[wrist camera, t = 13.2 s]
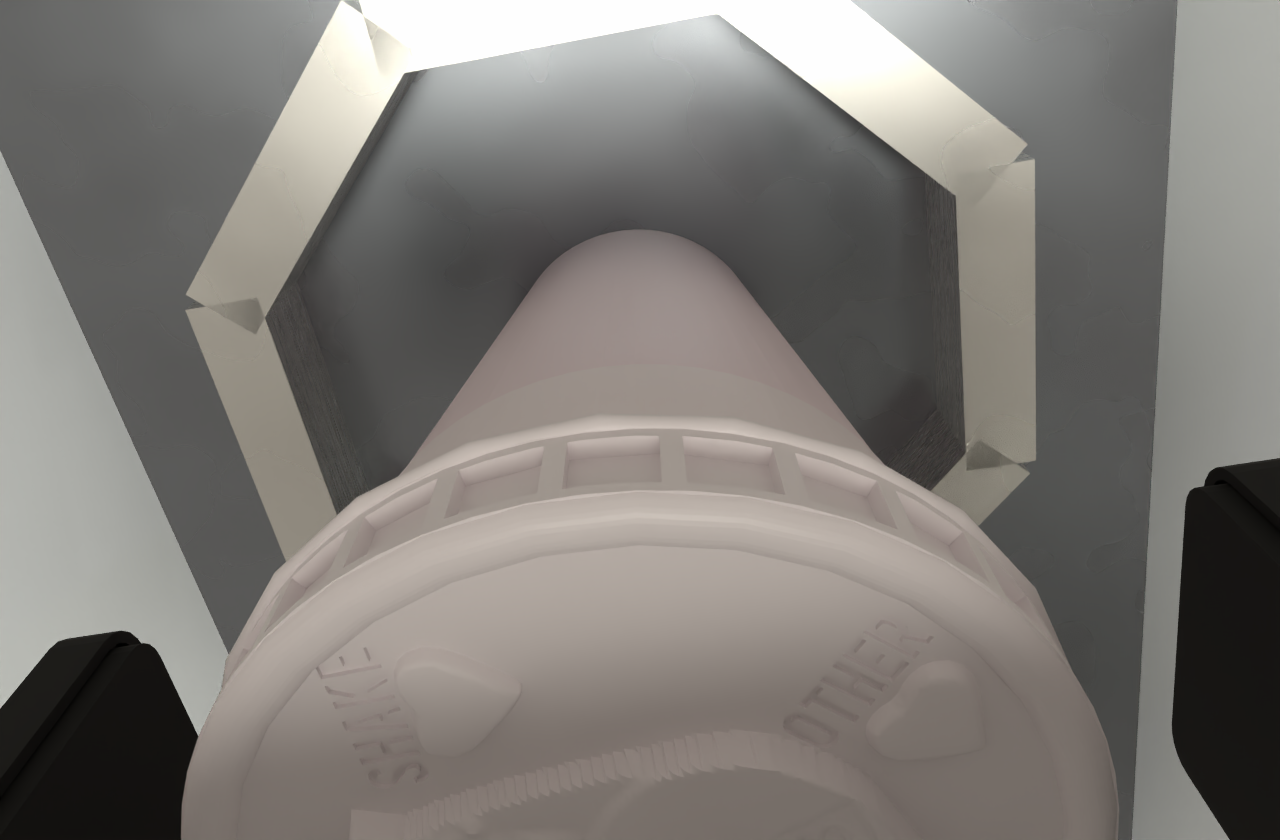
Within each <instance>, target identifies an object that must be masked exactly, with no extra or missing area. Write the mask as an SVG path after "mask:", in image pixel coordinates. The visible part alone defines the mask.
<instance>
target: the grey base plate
mask: <svg viewBox="0 0 1280 840" xmlns="http://www.w3.org/2000/svg"><path fill="white" fill-rule="evenodd" d="M1176 16H1177V0H0V150H1V153H2V155H3V157H4V159H5V162H6V164H7V166H8V168H9V170H10V173H11V175H12V177H13V179H14V181H15V184H16V186H17V188H18V190H19V192H20V195H21V197H22V199H23V201H24V203H25V206H26V208H27V210H28V212H29V214H30V217H31V219H32V221H33V223H34V225H35V228H36V230H37V232H38V234H39V237H40V239H41V241H42V243H43V245H44V248H45V250H46V252H47V254H48V256H49V259H50V261H51V263H52V265H53V267H54V270H55V272H56V274H57V276H58V278H59V281H60V283H61V285H62V287H63V289H64V292H65V294H66V296H67V298H68V300H69V303H70V305H71V307H72V309H73V312H74V314H75V316H76V318H77V320H78V323H79V325H80V327H81V329H82V331H83V334H84V336H85V338H86V340H87V342H88V345H89V347H90V349H91V351H92V353H93V356H94V358H95V360H96V362H97V364H98V367H99V369H100V371H101V373H102V375H103V378H104V380H105V382H106V384H107V387H108V389H109V391H110V393H111V395H112V398H113V400H114V402H115V404H116V406H117V409H118V411H119V413H120V415H121V417H122V420H123V422H124V424H125V426H126V428H127V431H128V433H129V435H130V437H131V439H132V442H133V444H134V446H135V448H136V450H137V453H138V455H139V457H140V459H141V462H142V464H143V466H144V468H145V470H146V473H147V475H148V477H149V479H150V481H151V484H152V486H153V488H154V490H155V492H156V495H157V497H158V499H159V501H160V503H161V506H162V508H163V510H164V512H165V514H166V517H167V519H168V521H169V523H170V525H171V528H172V530H173V532H174V534H175V537H176V539H177V541H178V543H179V545H180V548H181V550H182V552H183V554H184V556H185V559H186V561H187V563H188V565H189V567H190V570H191V572H192V574H193V576H194V578H195V581H196V583H197V585H198V587H199V589H200V592H201V594H202V596H203V598H204V600H205V603H206V605H207V607H208V609H209V612H210V614H211V616H212V618H213V620H214V623H215V625H216V627H217V629H218V631H219V634H220V636H221V638H222V640H223V642H224V645H225V647H226V649H227V651H228V653H230V652H231V650H232V648H233V646H234V644H235V643H236V641H237V639H238V637H239V635H240V634H241V632H242V630H243V628H244V626H245V625H246V623H247V621H248V619H249V617H250V616H251V614H252V612H253V610H254V608H255V607H256V605H257V603H258V601H259V599H260V598H261V596H262V594H263V592H264V591H265V589H266V587H267V585H268V583H269V582H270V580H271V578H272V576H273V574H274V573H275V572H276V571H277V570H278V569H279V568H280V567H281V566H282V565H283V564H284V563H285V562H287V561H288V560H289V559H290V558H291V557H292V556H293V555H294V554H295V553H296V552H297V551H299V550H300V549H301V548H302V547H303V546H304V545H305V544H306V543H307V542H308V541H309V540H311V539H312V538H313V537H314V536H315V535H316V534H317V533H318V532H319V531H320V530H321V529H323V528H324V527H325V526H326V525H327V524H328V523H329V522H330V521H331V520H332V519H333V518H335V517H336V516H337V515H338V514H339V513H340V512H341V511H342V510H343V509H344V508H345V507H346V506H348V505H349V504H350V503H351V502H352V501H353V500H354V499H355V498H356V497H358V496H360V495H362V494H364V493H366V492H368V491H370V490H372V489H374V488H376V487H378V486H380V485H382V484H384V483H386V482H388V481H390V480H392V479H394V478H396V477H398V476H399V475H400V474H401V472H402V471H403V470H404V469H405V468H406V467H407V465H408V464H409V463H410V461H411V460H412V458H413V457H414V456H415V454H416V453H417V451H418V450H419V448H420V447H421V446H422V444H423V443H424V441H425V440H426V438H427V437H428V435H429V434H430V433H431V431H432V430H433V428H434V427H435V425H436V424H437V423H438V421H439V420H440V418H441V417H442V415H443V414H444V413H445V411H446V410H447V408H448V407H449V405H450V404H451V403H452V401H453V400H454V398H455V397H456V395H457V394H458V392H459V391H460V390H461V388H462V387H463V385H464V384H465V382H466V381H467V380H468V378H469V377H470V375H471V374H472V372H473V371H474V370H475V368H476V367H477V365H478V364H479V362H480V361H481V360H482V358H483V357H484V355H485V354H486V352H487V351H488V349H489V348H490V347H491V345H492V344H493V342H494V341H495V339H496V338H497V337H498V335H499V334H500V332H501V331H502V329H503V328H504V327H505V325H506V324H507V322H508V321H509V319H510V318H511V317H512V315H513V314H514V312H515V311H516V309H517V308H518V306H519V305H520V304H521V302H522V301H523V299H524V298H525V296H526V295H527V294H528V292H529V291H530V289H531V288H532V286H533V285H534V284H535V282H536V281H537V279H538V278H539V277H540V275H541V274H542V273H543V272H544V271H545V269H546V268H547V267H548V266H549V265H550V264H551V263H552V262H553V261H555V260H556V259H557V258H558V257H559V256H561V255H562V254H563V253H565V252H566V251H568V250H569V249H571V248H572V247H574V246H576V245H578V244H580V243H582V242H584V241H586V240H588V239H591V238H593V237H596V236H599V235H603V234H606V233H610V232H615V231H621V230H632V229H643V230H655V231H662V232H666V233H671V234H674V235H678V236H681V237H684V238H686V239H688V240H691V241H693V242H695V243H697V244H699V245H701V246H703V247H704V248H706V249H707V250H709V251H710V252H712V253H713V254H715V255H716V256H717V257H718V258H720V259H721V260H722V261H723V262H724V263H725V264H726V265H727V266H728V267H729V268H730V269H731V270H732V271H733V272H734V274H735V275H736V276H737V277H738V279H739V280H740V281H741V283H742V284H743V285H744V286H745V288H746V289H747V290H748V292H749V293H750V294H751V295H752V297H753V298H754V299H755V301H756V302H757V303H758V304H759V306H760V307H761V308H762V310H763V311H764V312H765V314H766V315H767V316H768V317H769V319H770V320H771V321H772V323H773V324H774V325H775V326H776V328H777V329H778V330H779V332H780V333H781V334H782V335H783V337H784V338H785V339H786V341H787V342H788V343H789V345H790V346H791V347H792V348H793V350H794V351H795V352H796V354H797V355H798V356H799V357H800V359H801V360H802V361H803V363H804V364H805V365H806V366H807V368H808V369H809V370H810V372H811V373H812V374H813V375H814V377H815V378H816V379H817V381H818V382H819V383H820V385H821V386H822V387H823V388H824V390H825V391H826V392H827V394H828V395H829V396H830V397H831V399H832V400H833V401H834V403H835V404H836V405H837V406H838V408H839V409H840V410H841V412H842V413H843V414H844V416H845V417H846V418H847V419H848V421H849V422H850V423H851V425H852V426H853V427H854V428H855V430H856V431H857V432H858V434H859V435H860V436H861V437H862V439H863V440H864V441H865V443H866V444H867V445H868V446H869V448H870V449H871V450H872V452H873V453H874V454H875V455H876V456H877V457H878V458H879V459H880V460H881V461H882V462H883V464H884V465H886V466H887V467H889V468H891V469H893V470H894V471H896V472H898V473H900V474H901V475H903V476H905V477H906V478H908V479H910V480H912V481H913V482H915V483H917V484H919V485H920V486H922V487H924V488H925V489H927V490H929V491H931V492H932V493H934V494H936V495H938V496H939V497H941V498H943V499H945V500H946V501H948V502H950V503H951V504H953V505H955V506H957V507H958V508H960V509H962V510H963V511H964V512H965V513H966V514H967V515H968V516H969V517H970V518H971V519H972V520H973V521H974V522H975V524H976V525H977V526H978V527H979V528H980V529H981V530H982V531H983V532H984V533H985V534H986V535H987V536H988V538H989V539H990V540H991V541H992V542H993V543H994V544H995V545H996V546H997V547H998V548H999V549H1000V550H1001V551H1002V553H1003V554H1004V555H1005V556H1006V557H1007V558H1008V559H1009V560H1010V561H1011V562H1012V563H1013V564H1014V565H1015V566H1016V568H1017V569H1018V570H1019V571H1020V572H1021V573H1022V574H1023V575H1024V576H1025V577H1026V578H1027V579H1028V580H1029V581H1030V583H1031V584H1032V585H1033V586H1034V587H1035V588H1036V590H1037V592H1038V594H1039V596H1040V599H1041V601H1042V603H1043V606H1044V608H1045V610H1046V612H1047V615H1048V617H1049V619H1050V621H1051V624H1052V626H1053V628H1054V631H1055V633H1056V635H1057V637H1058V640H1059V642H1060V644H1061V646H1062V649H1063V651H1064V653H1065V656H1066V658H1067V660H1068V662H1069V665H1070V667H1071V669H1072V671H1073V673H1074V674H1075V676H1076V678H1077V680H1078V681H1079V683H1080V685H1081V686H1082V688H1083V690H1084V692H1085V693H1086V695H1087V697H1088V698H1089V700H1090V702H1091V704H1092V705H1093V707H1094V709H1095V712H1096V714H1097V717H1098V719H1099V722H1100V724H1101V727H1102V729H1103V732H1104V734H1105V736H1106V739H1107V742H1108V746H1109V750H1110V754H1111V758H1112V762H1113V766H1114V770H1115V774H1116V783H1117V792H1118V802H1119V821H1118V840H1131V839H1132V820H1133V802H1134V784H1135V766H1136V747H1137V729H1138V711H1139V692H1140V674H1141V656H1142V638H1143V619H1144V601H1145V583H1146V564H1147V546H1148V528H1149V510H1150V491H1151V473H1152V455H1153V436H1154V418H1155V400H1156V382H1157V363H1158V345H1159V327H1160V308H1161V290H1162V272H1163V254H1164V235H1165V217H1166V199H1167V180H1168V162H1169V144H1170V126H1171V107H1172V89H1173V71H1174V53H1175V34H1176Z"/></svg>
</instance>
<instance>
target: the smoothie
mask: <svg viewBox="0 0 1280 840" xmlns="http://www.w3.org/2000/svg"><path fill="white" fill-rule="evenodd" d="M1118 821H1119V802H1118V792H1117V783H1116V774H1115V770H1114V766H1113V762H1112V758H1111V754H1110V750H1109V746H1108V742H1107V739H1106V736H1105V734H1104V732H1103V729H1102V727H1101V724H1100V722H1099V719H1098V717H1097V714H1096V712H1095V709H1094V707H1093V705H1092V704H1091V702H1090V700H1089V698H1088V697H1087V695H1086V693H1085V692H1084V690H1083V688H1082V686H1081V685H1080V683H1079V681H1078V680H1077V678H1076V676H1075V674H1074V673H1073V671H1072V669H1071V667H1070V665H1069V662H1068V660H1067V658H1066V656H1065V653H1064V651H1063V649H1062V646H1061V644H1060V642H1059V640H1058V637H1057V635H1056V633H1055V631H1054V628H1053V626H1052V624H1051V621H1050V619H1049V617H1048V615H1047V612H1046V610H1045V608H1044V606H1043V603H1042V601H1041V599H1040V596H1039V594H1038V592H1037V590H1036V588H1035V587H1034V586H1033V585H1032V584H1031V583H1030V581H1029V580H1028V579H1027V578H1026V577H1025V576H1024V575H1023V574H1022V573H1021V572H1020V571H1019V570H1018V569H1017V568H1016V566H1015V565H1014V564H1013V563H1012V562H1011V561H1010V560H1009V559H1008V558H1007V557H1006V556H1005V555H1004V554H1003V553H1002V551H1001V550H1000V549H999V548H998V547H997V546H996V545H995V544H994V543H993V542H992V541H991V540H990V539H989V538H988V536H987V535H986V534H985V533H984V532H983V531H982V530H981V529H980V528H979V527H978V526H977V525H976V524H975V522H974V521H973V520H972V519H971V518H970V517H969V516H968V515H967V514H966V513H965V512H964V511H963V510H962V509H960V508H958V507H957V506H955V505H953V504H951V503H950V502H948V501H946V500H945V499H943V498H941V497H939V496H938V495H936V494H934V493H932V492H931V491H929V490H927V489H925V488H924V487H922V486H920V485H919V484H917V483H915V482H913V481H912V480H910V479H908V478H906V477H905V476H903V475H901V474H900V473H898V472H896V471H894V470H893V469H891V468H889V467H887V466H886V465H884V464H883V462H882V461H881V460H880V459H879V458H878V457H877V456H876V455H875V454H874V453H873V452H872V450H871V449H870V448H869V446H868V445H867V444H866V443H865V441H864V440H863V439H862V437H861V436H860V435H859V434H858V432H857V431H856V430H855V428H854V427H853V426H852V425H851V423H850V422H849V421H848V419H847V418H846V417H845V416H844V414H843V413H842V412H841V410H840V409H839V408H838V406H837V405H836V404H835V403H834V401H833V400H832V399H831V397H830V396H829V395H828V394H827V392H826V391H825V390H824V388H823V387H822V386H821V385H820V383H819V382H818V381H817V379H816V378H815V377H814V375H813V374H812V373H811V372H810V370H809V369H808V368H807V366H806V365H805V364H804V363H803V361H802V360H801V359H800V357H799V356H798V355H797V354H796V352H795V351H794V350H793V348H792V347H791V346H790V345H789V343H788V342H787V341H786V339H785V338H784V337H783V335H782V334H781V333H780V332H779V330H778V329H777V328H776V326H775V325H774V324H773V323H772V321H771V320H770V319H769V317H768V316H767V315H766V314H765V312H764V311H763V310H762V308H761V307H760V306H759V304H758V303H757V302H756V301H755V299H754V298H753V297H752V295H751V294H750V293H749V292H748V290H747V289H746V288H745V286H744V285H743V284H742V283H741V281H740V280H739V279H738V277H737V276H736V275H735V274H734V272H733V271H732V270H731V269H730V268H729V267H728V266H727V265H726V264H725V263H724V262H723V261H722V260H721V259H720V258H718V257H717V256H716V255H715V254H713V253H712V252H710V251H709V250H707V249H706V248H704V247H703V246H701V245H699V244H697V243H695V242H693V241H691V240H688V239H686V238H684V237H681V236H678V235H674V234H671V233H666V232H662V231H655V230H643V229H632V230H621V231H615V232H610V233H606V234H603V235H599V236H596V237H593V238H591V239H588V240H586V241H584V242H582V243H580V244H578V245H576V246H574V247H572V248H571V249H569V250H568V251H566V252H565V253H563V254H562V255H561V256H559V257H558V258H557V259H556V260H555V261H553V262H552V263H551V264H550V265H549V266H548V267H547V268H546V269H545V271H544V272H543V273H542V274H541V275H540V277H539V278H538V279H537V281H536V282H535V284H534V285H533V286H532V288H531V289H530V291H529V292H528V294H527V295H526V296H525V298H524V299H523V301H522V302H521V304H520V305H519V306H518V308H517V309H516V311H515V312H514V314H513V315H512V317H511V318H510V319H509V321H508V322H507V324H506V325H505V327H504V328H503V329H502V331H501V332H500V334H499V335H498V337H497V338H496V339H495V341H494V342H493V344H492V345H491V347H490V348H489V349H488V351H487V352H486V354H485V355H484V357H483V358H482V360H481V361H480V362H479V364H478V365H477V367H476V368H475V370H474V371H473V372H472V374H471V375H470V377H469V378H468V380H467V381H466V382H465V384H464V385H463V387H462V388H461V390H460V391H459V392H458V394H457V395H456V397H455V398H454V400H453V401H452V403H451V404H450V405H449V407H448V408H447V410H446V411H445V413H444V414H443V415H442V417H441V418H440V420H439V421H438V423H437V424H436V425H435V427H434V428H433V430H432V431H431V433H430V434H429V435H428V437H427V438H426V440H425V441H424V443H423V444H422V446H421V447H420V448H419V450H418V451H417V453H416V454H415V456H414V457H413V458H412V460H411V461H410V463H409V464H408V465H407V467H406V468H405V469H404V470H403V471H402V472H401V474H400V475H399V476H398V477H396V478H394V479H392V480H390V481H388V482H386V483H384V484H382V485H380V486H378V487H376V488H374V489H372V490H370V491H368V492H366V493H364V494H362V495H360V496H358V497H356V498H355V499H354V500H353V501H352V502H351V503H350V504H349V505H348V506H346V507H345V508H344V509H343V510H342V511H341V512H340V513H339V514H338V515H337V516H336V517H335V518H333V519H332V520H331V521H330V522H329V523H328V524H327V525H326V526H325V527H324V528H323V529H321V530H320V531H319V532H318V533H317V534H316V535H315V536H314V537H313V538H312V539H311V540H309V541H308V542H307V543H306V544H305V545H304V546H303V547H302V548H301V549H300V550H299V551H297V552H296V553H295V554H294V555H293V556H292V557H291V558H290V559H289V560H288V561H287V562H285V563H284V564H283V565H282V566H281V567H280V568H279V569H278V570H277V571H276V572H275V573H274V574H273V576H272V578H271V580H270V582H269V583H268V585H267V587H266V589H265V591H264V592H263V594H262V596H261V598H260V599H259V601H258V603H257V605H256V607H255V608H254V610H253V612H252V614H251V616H250V617H249V619H248V621H247V623H246V625H245V626H244V628H243V630H242V632H241V634H240V635H239V637H238V639H237V641H236V643H235V644H234V646H233V648H232V650H231V652H230V653H229V655H228V657H227V659H226V663H225V670H224V676H223V682H222V689H221V692H220V693H219V695H218V697H217V699H216V701H215V703H214V705H213V707H212V709H211V711H210V713H209V715H208V717H207V719H206V722H205V724H204V726H203V728H202V730H201V732H200V734H199V736H198V739H197V742H196V745H195V748H194V752H193V755H192V758H191V761H190V764H189V767H188V770H187V776H186V782H185V788H184V794H183V800H182V815H181V840H1118Z"/></svg>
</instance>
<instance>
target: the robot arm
mask: <svg viewBox="0 0 1280 840" xmlns="http://www.w3.org/2000/svg"><path fill="white" fill-rule="evenodd" d="M1172 734H1173V740H1174V744H1175V748H1176V751H1177V754H1178V757H1179V759H1180V762H1181V764H1182V766H1183V767H1184V769H1185V771H1186V773H1187V774H1188V776H1189V777H1190V779H1191V781H1192V782H1193V784H1194V785H1195V787H1196V788H1197V790H1198V791H1199V793H1200V794H1201V796H1202V798H1203V799H1204V801H1205V802H1206V804H1207V805H1208V807H1209V808H1210V810H1211V811H1212V813H1213V815H1214V816H1215V818H1216V819H1217V821H1218V822H1219V824H1220V825H1221V827H1222V828H1223V830H1224V832H1225V833H1226V835H1227V836H1228V838H1229V839H1230V840H1280V458H1278V459H1271V460H1264V461H1257V462H1251V463H1244V464H1237V465H1231V466H1224V467H1217V468H1215V469H1213V470H1212V471H1210V472H1209V474H1208V476H1207V478H1206V480H1205V484H1204V487H1198V488H1194V489H1192V490H1191V491H1190V492H1189V494H1188V496H1187V500H1186V506H1185V522H1184V538H1183V554H1182V570H1181V586H1180V602H1179V619H1178V635H1177V651H1176V667H1175V683H1174V699H1173V715H1172ZM197 739H198V735H197V733H196V731H195V729H194V726H193V724H192V722H191V720H190V718H189V716H188V714H187V712H186V710H185V707H184V705H183V703H182V701H181V699H180V697H179V695H178V693H177V691H176V689H175V686H174V684H173V682H172V680H171V678H170V676H169V674H168V672H167V670H166V668H165V665H164V663H163V661H162V659H161V657H160V655H159V654H158V652H157V651H156V649H155V648H154V647H152V646H151V645H150V644H145V643H140V641H139V640H138V638H136V637H135V636H134V635H133V634H131V633H130V632H125V631H116V632H109V633H103V634H96V635H89V636H83V637H76V638H69V639H65V640H62V641H58V642H57V643H56V644H55V645H54V646H53V647H51V648H50V649H49V650H48V652H47V653H46V654H45V655H44V657H43V658H42V659H41V660H40V661H39V663H38V664H37V665H36V666H35V667H34V669H33V670H32V671H31V672H30V673H29V675H28V676H27V677H26V678H25V680H24V681H23V682H22V683H21V684H20V686H19V687H18V688H17V689H16V690H15V692H14V693H13V694H12V695H11V696H10V698H9V699H8V700H7V701H6V703H5V704H4V705H3V706H2V707H1V709H0V840H181V815H182V800H183V794H184V788H185V782H186V776H187V770H188V767H189V764H190V761H191V758H192V755H193V752H194V748H195V745H196V742H197Z"/></svg>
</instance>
